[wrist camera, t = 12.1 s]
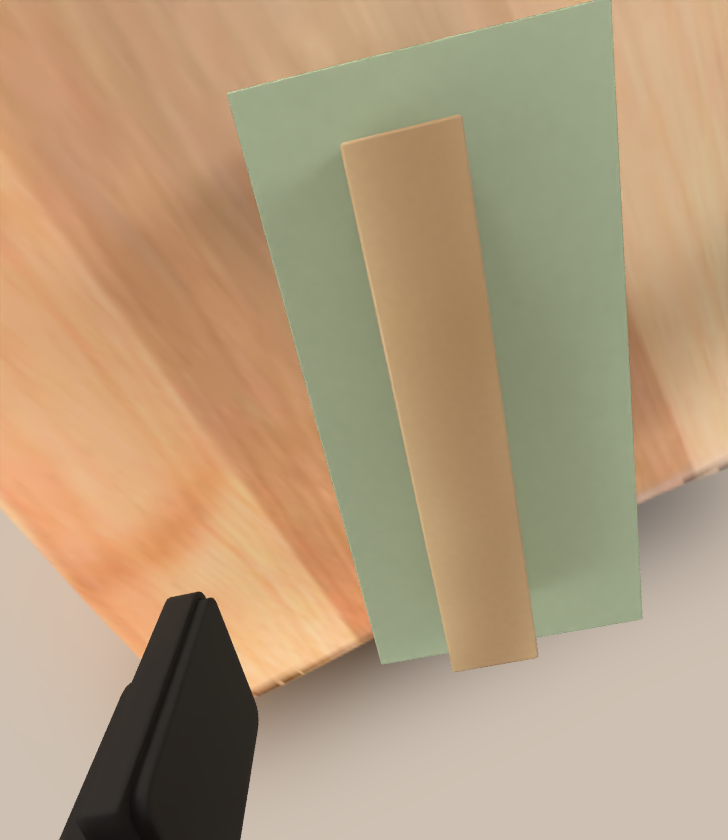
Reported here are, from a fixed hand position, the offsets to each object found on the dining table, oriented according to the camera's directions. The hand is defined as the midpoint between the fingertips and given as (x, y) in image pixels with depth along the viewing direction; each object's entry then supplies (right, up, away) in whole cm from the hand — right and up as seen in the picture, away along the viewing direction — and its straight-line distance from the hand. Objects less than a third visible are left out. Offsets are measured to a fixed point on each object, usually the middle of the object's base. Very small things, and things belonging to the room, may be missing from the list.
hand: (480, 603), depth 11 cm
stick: (0, +4, +9) cm, 9 cm away
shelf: (+1, +8, +20) cm, 21 cm away
